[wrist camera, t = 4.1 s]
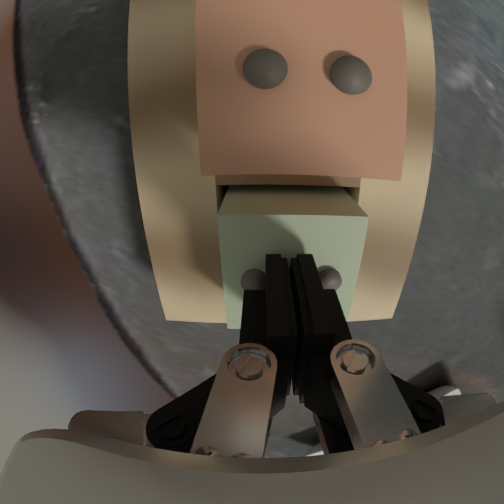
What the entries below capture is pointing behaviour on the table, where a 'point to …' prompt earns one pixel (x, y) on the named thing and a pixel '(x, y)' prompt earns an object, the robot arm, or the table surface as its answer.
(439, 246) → the table surface
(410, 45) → the wooden dice block tray
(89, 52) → the table surface
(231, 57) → the tan dice block
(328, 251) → the green dice block
